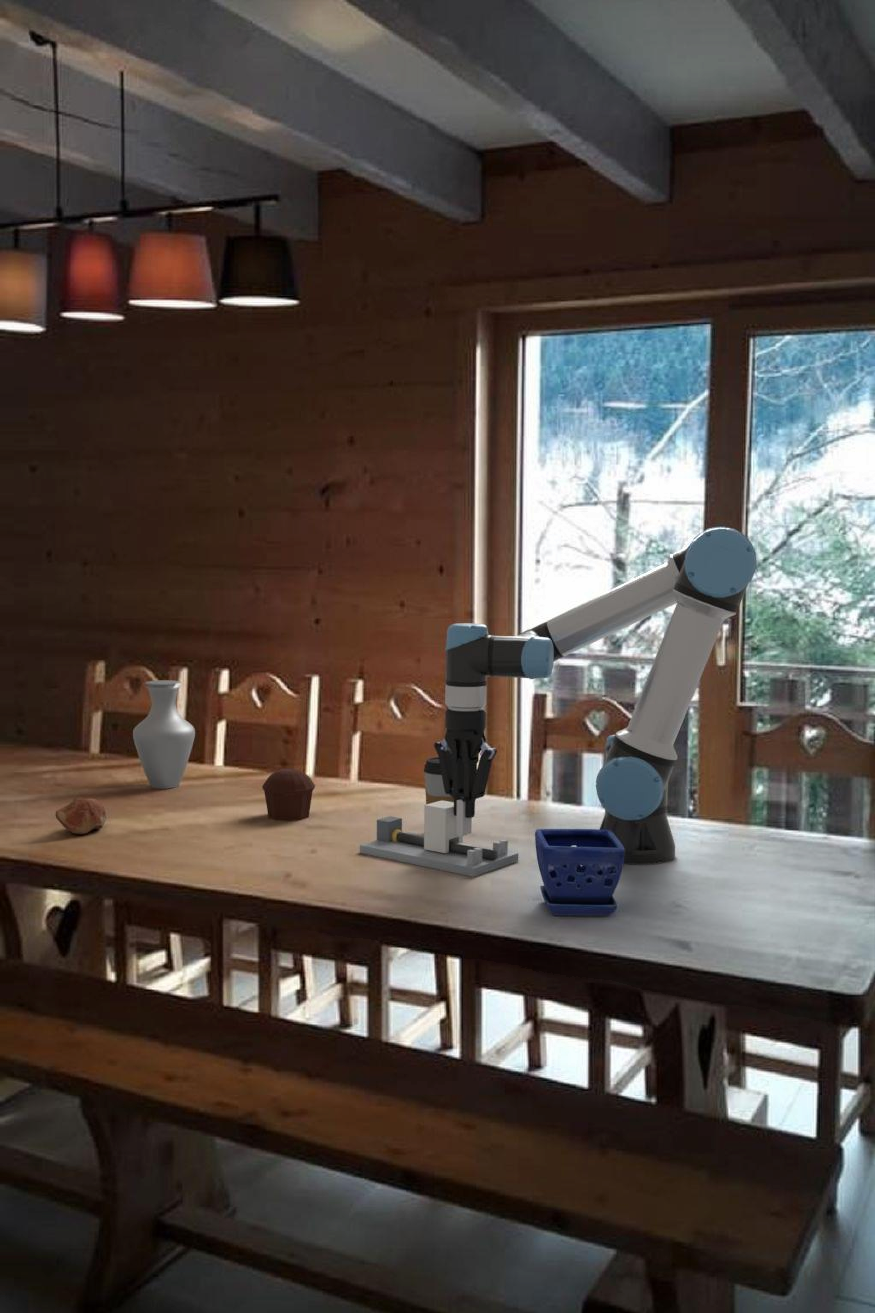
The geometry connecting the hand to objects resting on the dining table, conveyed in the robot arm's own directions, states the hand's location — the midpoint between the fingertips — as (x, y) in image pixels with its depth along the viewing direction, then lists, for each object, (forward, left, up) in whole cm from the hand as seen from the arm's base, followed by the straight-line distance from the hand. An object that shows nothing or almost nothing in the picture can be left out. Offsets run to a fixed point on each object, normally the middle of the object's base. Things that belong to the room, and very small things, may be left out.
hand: (463, 834), depth 241 cm
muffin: (+52, -7, -6) cm, 53 cm away
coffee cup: (+17, -16, -6) cm, 24 cm away
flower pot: (-32, +12, -6) cm, 34 cm away
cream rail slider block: (+5, 0, -4) cm, 6 cm away
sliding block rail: (+6, 0, -5) cm, 8 cm away
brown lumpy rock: (+74, +30, -6) cm, 80 cm away
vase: (+97, -11, -6) cm, 98 cm away
